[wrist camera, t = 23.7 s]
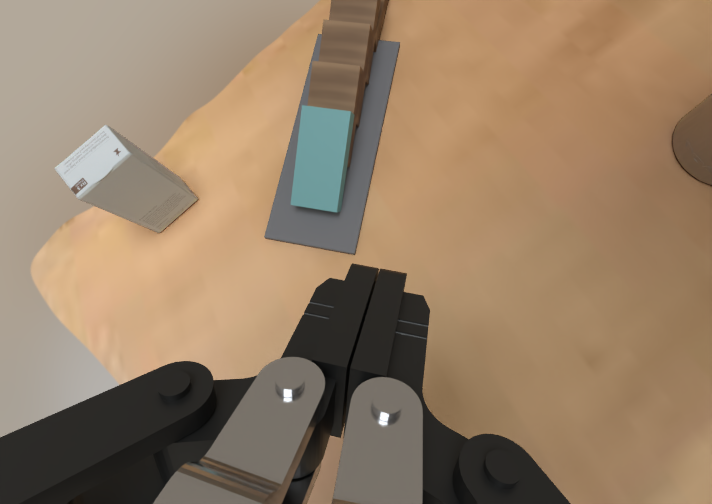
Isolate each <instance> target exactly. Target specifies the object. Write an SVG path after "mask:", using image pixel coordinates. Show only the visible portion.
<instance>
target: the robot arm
mask: <svg viewBox="0 0 712 504" xmlns="http://www.w3.org/2000/svg"><path fill="white" fill-rule="evenodd" d="M673 148H674V152H675V155H676V157H677V159H678V161H679V162H680V164H681V165H682V167H683V168H684V169H685V170H686V171H687V172H688V173H690V174H691V175H692V176H694V177H695V178H697V179H698V180H700V181H702V182H705V183H707V184H709V185H712V94H711V95H710V96H709V97H707V98H706V99H705V100H704V101H702V102H701V103H700V104H699V105H697V106H696V107H695V108H694V109H693V110H691V111H690V112H689V113H688V114H686V115H685V116H684V117H683V118H682V119H681V120H680V121H679V123H678V124H677V126H676V128H675V131H674V133H673ZM378 272H379V274H378ZM406 276H407V273H401V272H396V271H390V270H385V269H380V271H379V269H378V268H374V267H368V266H363V265H358V264H352V265H351V266H350V269H349V271H348V274H347V276H346V278H345V281H343V280H338V279H333V278H329V279H328V280H326V281H325V282H324V283H322V284H321V285H320V286H318V287H317V288H316V290H315V292H314V294H313V296H312V298H311V300H310V303H309V304H308V306H307V308H306V310H305V312H304V315H303V316H302V318H301V320H300V322H299V324H298V325H297V327H296V329H295V331H294V333H293V335H292V337H291V339H290V341H289V343H288V345H287V347H286V349H285V351H284V353H283V355H282V357H281V358H280V359H278V360H275V361H273V362H271V363H269V364H268V365H266V366H265V367H264V368H263V369H262V370H261V371H260V373H259V374H258V375H257V376H254V377H250V378H244V379H230V380H213V376H212V374H211V372H210V371H209V370H208V368H206V367H205V366H203V365H201V364H199V363H196V362H190V361H181V362H175V363H171V364H168V365H165V366H162V367H160V368H158V369H156V370H153V371H151V372H149V373H146V374H144V375H142V376H140V377H137V378H135V379H133V380H130V381H128V382H126V383H124V384H121V385H119V386H117V387H115V388H112V389H110V390H108V391H105V392H103V393H101V394H99V395H96V396H94V397H92V398H89V399H87V400H85V401H83V402H80V403H78V404H76V405H73V406H71V407H69V408H67V409H64V410H62V411H60V412H58V413H55V414H53V415H51V416H48V417H46V418H44V419H41V420H39V421H37V422H35V423H32V424H30V425H28V426H26V427H23V428H21V429H19V430H16V431H14V432H12V433H10V434H7V435H5V436H3V437H1V438H0V504H307V502H308V500H309V497H310V494H311V492H312V489H313V487H314V484H315V481H316V479H317V476H318V474H319V471H320V467H321V461H322V459H323V456H324V453H325V450H326V447H327V443H328V440H329V437H330V435H332V436H336V437H340V438H341V434H342V431H343V427H344V423H345V427H344V441H343V446H342V451H341V457H340V462H339V468H338V473H337V479H336V484H335V490H334V495H333V500H332V504H570V503H569V501H568V500H567V499H566V498H565V497H564V495H563V494H562V493H561V492H560V491H559V490H558V488H557V487H556V486H555V485H554V484H553V482H552V481H551V480H550V479H549V478H548V477H547V475H546V474H545V473H544V472H543V471H542V469H541V468H540V467H539V466H538V465H537V464H536V462H535V461H534V460H533V459H532V458H531V456H530V455H529V454H528V453H527V452H526V451H525V450H524V449H523V448H521V447H520V446H519V445H517V444H516V443H514V442H513V441H511V440H509V439H507V438H505V437H502V436H499V435H494V434H481V435H477V436H474V437H472V438H471V439H467V438H465V437H464V436H462V435H460V434H458V433H456V432H455V431H453V430H451V429H449V428H448V427H446V426H445V425H443V424H442V423H441V422H439V421H438V420H437V419H436V418H435V417H434V416H433V415H432V413H431V412H430V411H429V409H428V408H427V406H426V404H425V401H424V398H423V393H422V386H423V375H424V365H425V355H426V345H427V335H428V325H429V314H430V309H429V307H428V305H427V303H426V301H425V299H424V296H422V295H416V294H411V293H406V292H404V287H405V282H406Z"/></svg>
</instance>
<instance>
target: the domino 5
mask: <svg viewBox="0 0 712 504" xmlns="http://www.w3.org/2000/svg"><path fill="white" fill-rule="evenodd" d="M388 1H389V0H381V2H380V9H379V16H378V23H377V30H376V37H375V44H374V51H373V52H376V50H377V46H378V42H379V38H380V33H381V29H382V25H383V21H384V17H385V13H386V9H387V5H388Z"/></svg>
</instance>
